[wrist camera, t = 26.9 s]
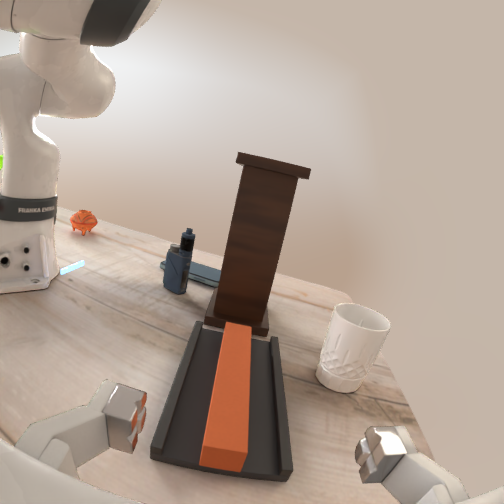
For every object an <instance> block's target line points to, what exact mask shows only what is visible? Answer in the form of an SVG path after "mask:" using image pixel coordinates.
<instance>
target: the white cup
mask: <svg viewBox="0 0 504 504" xmlns="http://www.w3.org/2000/svg"><path fill="white" fill-rule="evenodd" d="M390 328H391V323H390V321H389V320H388V319H387V318H386V317H385V316H383V315H382V314H380V313H378V312H377V311H375V310H373V309H370V308H368V307H365V306H362V305H357V304H352V303H340V304H337V305H335V307H334V310H333V313H332V317H331V320H330V323H329V327H328V330H327V333H326V336H325V341H324V344H323V347H322V351H321V354H320V360H319V363H318V366H317V369H316V374H315V375H316V377H317V379H318V380H319V382H320V383H322V384H323V385H324V386H325V387H327V388H329V389H331V390H334V391H336V392H342V393H350V392H354V391H356V390H357V389H358V388H359V387H360V386H361V384H362V382H363V380H364V378H365V376H366V375H367V374H368V372H369V370H370V368H371V367H372V365H373V363H374V361H375V359H376V357H377V356H378V354H379V352H380V349H381V347H382V345H383V343H384V341H385V339H386V337H387V335H388V333H389V330H390Z"/></svg>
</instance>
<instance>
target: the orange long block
mask: <svg viewBox="0 0 504 504" xmlns="http://www.w3.org/2000/svg"><path fill="white" fill-rule="evenodd" d="M251 329H252V327H250V326H245V325H240V324H235V323H230V322H226V325H225V329H224V334H223V339H222V344H221V349H220V354H219V360H218V365H217V370H216V375H215V381H214V386H213V391H212V396H211V402H210V407H209V413H208V418H207V423H206V429H205V434H204V440H203V445H202V451H201V456H200V462H199V465H201V466H206V467H211V468H217V469H222V470H229V471H235V472H241V469H242V467H243V464H244V461H245V459H246V456H247V454H248V428H249V396H250V362H251Z"/></svg>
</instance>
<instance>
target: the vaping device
mask: <svg viewBox="0 0 504 504" xmlns="http://www.w3.org/2000/svg"><path fill="white" fill-rule="evenodd" d="M194 239H195V234H192V229H190V228H187V230H186V232H184V233H182V238H181V244H180V245H177V244H171V246H170V249H169V250H168V252H167V256H166V263H165V270H164V277H163V283H164V287H165V288H167V289H169V290H170V291H172V292H174V293H176V294H184V293H185V292H186V288H187V282H188V276H189V270H190V265H191V259H192V251H193V246H194Z"/></svg>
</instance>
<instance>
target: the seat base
mask: <svg viewBox="0 0 504 504" xmlns="http://www.w3.org/2000/svg"><path fill="white" fill-rule="evenodd" d="M202 325H203V322H200V321H196V323H195V326H194V328H193V331H192V333H191V336H190V339H189V341H188V344H187V347H186V349H185V352H184V355H183V357H182V360H181V363H180V365H179V368H178V371H177V373H176V376H175V379H174V382H173V384H172V387H171V390H170V392H169V395H168V398H167V401H166V403H165V406H164V409H163V412H162V415H161V417H160V420H159V423H158V426H157V429H156V431H155V434H154V437H153V440H152V443H151V446H150V458H151V459H154V460H158V461H161V462H165V463H169V464H173V465H177V466H182V467H186V468H191V469H196V470H201V471H206V472H211V473H217V474H223V475H229V476H236V477H243V478H251V479H260V480H271V481H284V482H286V481H287V480H288V478H289V477H290V475H291V473H292V472H293V463H292V454H291V445H290V436H289V427H288V419H287V410H286V401H285V393H284V384H283V376H282V368H281V359H280V351H279V343H278V337H273V336H271V339H270V342H267V341H262V340H257V339H251V362H250V396H249V428H248V454H247V456H246V459H245V461H244V464H243V467H242V469H241V472H235V471H229V470H222V469H217V468H211V467H206V466H201V465H199V462H200V456H201V451H202V445H203V440H204V434H205V429H206V423H207V418H208V413H209V407H210V402H211V396H212V391H213V386H214V381H215V375H216V370H217V365H218V360H219V354H220V349H221V344H222V339H223V334H224V333H222V332H217V331H213V330H208V329H204V328H202Z"/></svg>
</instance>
